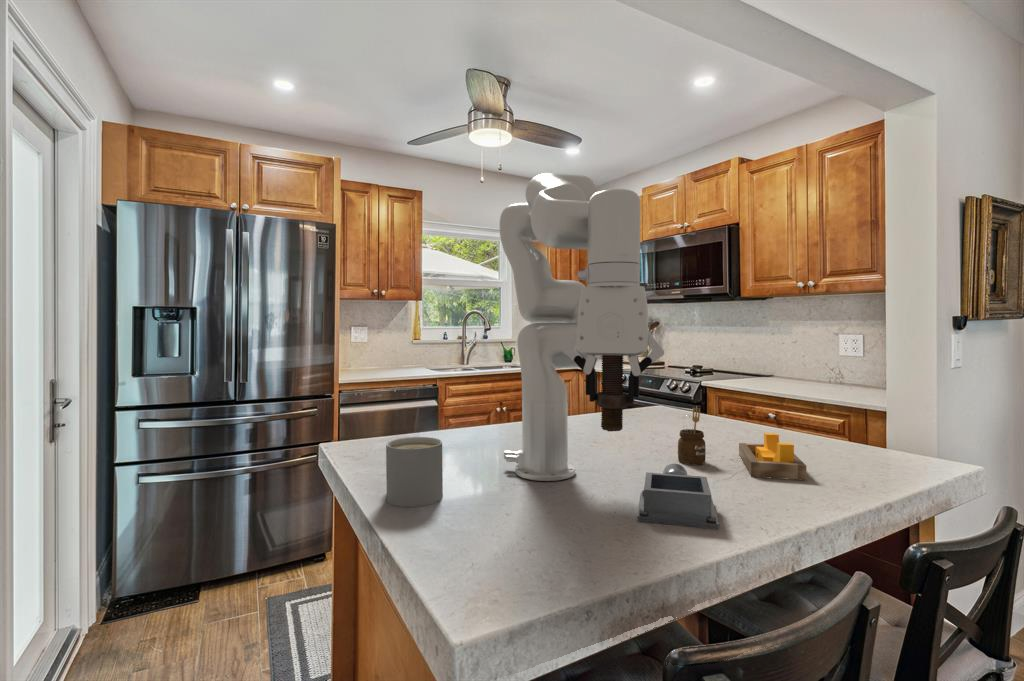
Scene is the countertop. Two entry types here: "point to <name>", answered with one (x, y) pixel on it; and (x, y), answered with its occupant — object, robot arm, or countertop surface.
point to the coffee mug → (414, 471)
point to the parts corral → (770, 465)
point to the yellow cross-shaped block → (775, 450)
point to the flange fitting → (677, 499)
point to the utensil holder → (692, 444)
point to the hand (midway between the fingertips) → (612, 399)
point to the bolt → (612, 393)
